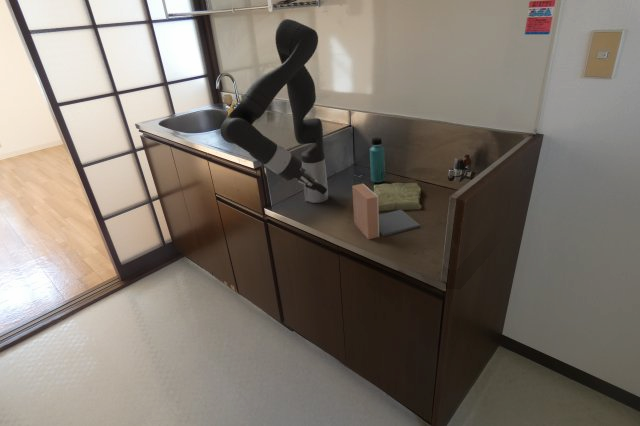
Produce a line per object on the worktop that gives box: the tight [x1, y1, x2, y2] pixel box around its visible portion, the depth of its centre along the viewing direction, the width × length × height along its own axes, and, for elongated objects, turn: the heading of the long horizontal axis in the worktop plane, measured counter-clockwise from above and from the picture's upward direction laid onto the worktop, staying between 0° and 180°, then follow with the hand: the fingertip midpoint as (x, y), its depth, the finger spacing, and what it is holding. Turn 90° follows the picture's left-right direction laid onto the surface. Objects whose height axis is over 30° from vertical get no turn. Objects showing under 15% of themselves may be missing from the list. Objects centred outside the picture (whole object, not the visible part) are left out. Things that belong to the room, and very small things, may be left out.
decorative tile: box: [373, 182, 422, 212], centre depth 153 cm, size 19×20×4 cm
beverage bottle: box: [369, 137, 387, 183], centre depth 164 cm, size 6×7×20 cm
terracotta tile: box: [351, 183, 380, 240], centre depth 130 cm, size 4×12×15 cm, turn 18°
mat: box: [379, 210, 420, 237], centre depth 136 cm, size 14×13×1 cm
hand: (324, 191), depth 122 cm, fingers closed
